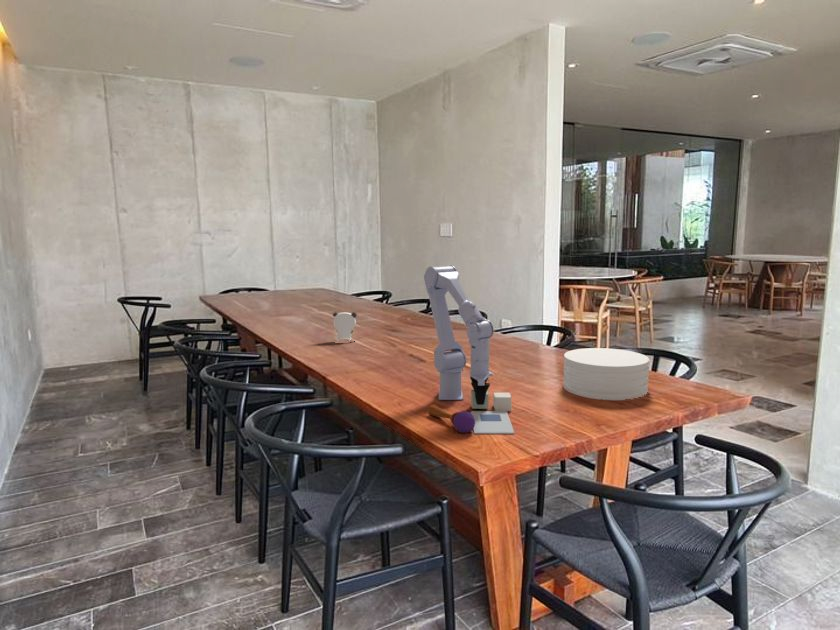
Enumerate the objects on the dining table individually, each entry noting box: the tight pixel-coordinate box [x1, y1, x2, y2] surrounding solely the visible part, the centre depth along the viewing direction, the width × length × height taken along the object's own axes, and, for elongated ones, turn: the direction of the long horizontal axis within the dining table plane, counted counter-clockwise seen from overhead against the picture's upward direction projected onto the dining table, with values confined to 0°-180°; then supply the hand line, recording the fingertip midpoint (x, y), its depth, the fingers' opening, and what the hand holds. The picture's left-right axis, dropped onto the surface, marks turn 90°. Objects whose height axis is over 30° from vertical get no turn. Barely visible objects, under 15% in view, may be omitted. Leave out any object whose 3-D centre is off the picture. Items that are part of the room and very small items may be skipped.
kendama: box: [427, 404, 475, 434], centre depth 161 cm, size 6×6×20 cm
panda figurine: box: [332, 311, 358, 341], centre depth 281 cm, size 12×11×15 cm
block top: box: [493, 392, 512, 412], centre depth 174 cm, size 5×5×4 cm
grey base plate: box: [470, 410, 515, 435], centre depth 162 cm, size 18×11×1 cm, turn 178°
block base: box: [470, 389, 489, 410], centre depth 174 cm, size 5×5×4 cm
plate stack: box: [562, 347, 650, 401], centre depth 194 cm, size 28×28×12 cm
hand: (479, 401), depth 174 cm, fingers closed on block base, 5 cm apart
